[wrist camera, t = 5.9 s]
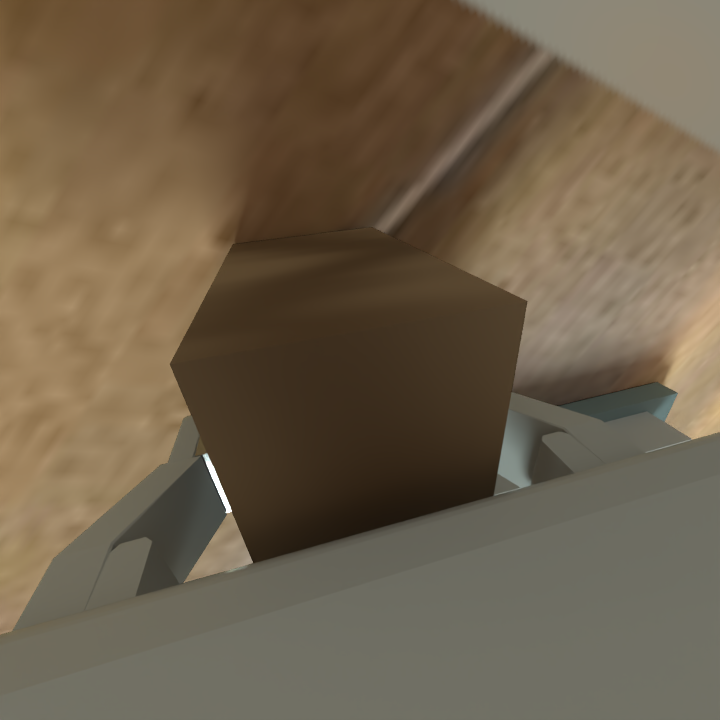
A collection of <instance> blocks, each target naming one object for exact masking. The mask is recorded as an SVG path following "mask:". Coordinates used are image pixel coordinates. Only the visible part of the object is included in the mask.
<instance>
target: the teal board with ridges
mask: <svg viewBox="0 0 720 720" xmlns="http://www.w3.org/2000/svg"><path fill="white" fill-rule="evenodd" d="M677 394H678V393H677V392H675V391H673V390H671V389H669V388H667V387H665V386H663V385H662V384H660V383H658V382H656V383H651V384H647V385H643V386H639V387H635V388H631V389H627V390H623V391H619V392H614V393H610V394H606V395H602V396H598V397H594V398H590V399H586V400H582V401H577V402H573V403H569V404H565V405H561V406H558V407H561V408H564V409H568V410H571V411H574V412H577V413H580V414H584V415H587V416H590V417H593V418H596V419H600V420H602V421H603V422H604V423H606V424H607V425H608V426H610V427H611V428H613V429H614V430H615V431H617V432H618V433H619V434H621V435H622V436H624V437H625V438H626V439H628V440H629V441H630V442H632V443H633V444H634V445H636V446H637V447H639V448H640V449H641V450H643V451H644V452H645V453H647V452H651V451H654V450H658V449H662V448H665V447H669V446H672V445H676V444H679V443H683V442H686V441H690V440H692V439H691V438H689V437H688V436H686V435H685V434H683V433H681V432H680V431H678V430H676V429H675V428H673V427H672V426H670V425H668V424H667V423H665V422H664V421H665V419H666V417H667V415H668V413H669V411H670V409H671V407H672V404H673V402H674V400H675V398H676V396H677ZM519 488H520V487H519V486H517V485H516V484H514V483H512V482H511V481H509V480H507V479H506V478H504V477H503V476H501V475H499V474H498V473H497V479H496V485H495V491H494V495H498V494H502V493H505V492H509V491H512V490H516V489H519Z"/></svg>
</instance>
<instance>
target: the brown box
mask: <svg viewBox="0 0 720 720" xmlns="http://www.w3.org/2000/svg"><path fill="white" fill-rule="evenodd" d="M526 307H527V301H526V300H524V299H522V298H520V297H517V296H515V295H513V294H511V293H509V292H507V291H505V290H503V289H501V288H499V287H496V286H494V285H492V284H490V283H488V282H486V281H484V280H482V279H480V278H478V277H475V276H473V275H471V274H469V273H467V272H465V271H463V270H461V269H459V268H457V267H454V266H452V265H450V264H448V263H446V262H444V261H442V260H440V259H438V258H436V257H433V256H431V255H429V254H427V253H425V252H423V251H421V250H419V249H417V248H415V247H412V246H410V245H408V244H406V243H404V242H402V241H400V240H398V239H396V238H394V237H391V236H389V235H387V234H385V233H383V232H381V231H379V230H377V229H375V228H373V227H368V228H360V229H352V230H344V231H336V232H328V233H320V234H312V235H304V236H296V237H288V238H280V239H272V240H264V241H256V242H247V243H239V244H233V245H232V247H231V249H230V251H229V253H228V255H227V257H226V258H225V260H224V262H223V264H222V266H221V268H220V270H219V272H218V274H217V276H216V277H215V279H214V281H213V283H212V285H211V287H210V289H209V291H208V293H207V295H206V296H205V298H204V300H203V302H202V304H201V306H200V308H199V310H198V312H197V314H196V315H195V317H194V319H193V321H192V323H191V325H190V327H189V329H188V331H187V333H186V334H185V336H184V338H183V340H182V342H181V344H180V346H179V348H178V350H177V352H176V354H175V355H174V357H173V359H172V361H171V363H170V366H171V368H172V370H173V373H174V375H175V378H176V380H177V382H178V385H179V387H180V390H181V392H182V394H183V397H184V399H185V401H186V404H187V406H188V409H189V411H190V413H191V416H192V418H193V420H194V423H195V425H196V428H197V430H198V432H199V435H200V437H201V439H202V442H203V444H204V447H205V449H206V451H207V454H208V456H209V459H210V461H211V463H212V466H213V468H214V470H215V473H216V475H217V478H218V480H219V482H220V485H221V487H222V489H223V492H224V494H225V497H226V499H227V501H228V504H229V506H230V509H231V511H232V513H233V516H234V518H235V520H236V523H237V525H238V528H239V530H240V532H241V535H242V537H243V539H244V542H245V544H246V547H247V549H248V551H249V554H250V556H251V559H252V561H253V563H256V562H260V561H263V560H267V559H271V558H274V557H278V556H281V555H285V554H288V553H292V552H295V551H299V550H303V549H306V548H310V547H313V546H317V545H320V544H324V543H327V542H331V541H334V540H338V539H342V538H345V537H349V536H352V535H356V534H359V533H363V532H366V531H370V530H374V529H377V528H381V527H384V526H388V525H391V524H395V523H398V522H402V521H405V520H409V519H413V518H416V517H420V516H423V515H427V514H430V513H434V512H437V511H441V510H445V509H448V508H452V507H455V506H459V505H462V504H466V503H470V502H473V501H477V500H480V499H484V498H487V497H491V496H494V491H495V485H496V479H497V473H498V468H499V462H500V456H501V450H502V445H503V439H504V433H505V427H506V422H507V416H508V410H509V404H510V399H511V393H512V387H513V381H514V376H515V370H516V364H517V358H518V353H519V347H520V341H521V335H522V330H523V324H524V318H525V312H526Z"/></svg>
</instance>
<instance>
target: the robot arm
mask: <svg viewBox="0 0 720 720" xmlns="http://www.w3.org/2000/svg"><path fill="white" fill-rule="evenodd" d="M498 474H499V475H501V476H503V477H504V478H506V479H507V480H509V481H511V482H512V483H514V484H516V485H517V486H519V487H520V488H519V489H516V490H512V491H509V492H505V493H502V494H498V495H494V496H491V497H487V498H484V499H480V500H477V501H473V502H470V503H466V504H462V505H459V506H455V507H452V508H448V509H445V510H441V511H437V512H434V513H430V514H427V515H423V516H420V517H416V518H413V519H409V520H405V521H402V522H398V523H395V524H391V525H388V526H384V527H381V528H377V529H374V530H370V531H366V532H363V533H359V534H356V535H352V536H349V537H345V538H342V539H338V540H334V541H331V542H327V543H324V544H320V545H317V546H313V547H310V548H306V549H303V550H299V551H295V552H292V553H288V554H285V555H281V556H278V557H274V558H271V559H267V560H263V561H260V562H256V563H253V564H249V565H246V566H242V567H239V568H235V569H231V570H228V571H224V572H221V573H217V574H214V575H210V576H207V577H203V578H200V579H196V580H192V581H189V582H185V583H183V582H184V581H185V579H186V578H187V576H188V575H189V573H190V571H191V570H192V568H193V567H194V565H195V564H196V562H197V560H198V559H199V557H200V556H201V554H202V553H203V551H204V550H205V548H206V546H207V545H208V543H209V542H210V540H211V539H212V537H213V535H214V534H215V532H216V531H217V529H218V528H219V526H220V525H221V523H222V521H223V520H224V518H225V517H226V515H227V514H226V513H227V512H230V511H231V509H230V506H229V504H228V501H227V499H226V497H225V494H224V492H223V489H222V487H221V485H220V482H219V480H218V478H217V475H216V473H215V470H214V468H213V466H212V463H211V461H210V459H209V456H208V454H207V451H206V449H205V447H204V444H203V442H202V439H201V437H200V435H199V432H198V430H197V428H196V425H195V423H194V420H193V418H192V416H191V415H190V416H187V417H185V418H184V419H183V421H182V424H181V427H180V430H179V433H178V435H177V438H176V441H175V444H174V447H173V449H172V452H171V455H170V458H169V461H168V463H166V464H161V465H160V466H159V467H157V468H156V469H155V470H154V471H153V472H152V473H151V474H149V475H148V476H147V477H146V478H145V479H144V480H143V481H141V482H140V483H139V484H138V485H137V486H136V487H135V488H133V489H132V490H131V491H130V492H129V493H128V494H127V495H125V496H124V497H123V498H122V499H121V500H120V501H119V502H117V503H116V504H115V505H114V506H113V507H112V508H111V509H109V510H108V511H107V512H106V513H105V514H104V515H103V516H101V517H100V518H99V519H98V520H97V521H96V522H95V523H93V524H92V525H91V526H90V527H89V528H88V529H87V530H85V531H84V532H83V533H82V534H81V535H80V536H79V537H77V538H76V539H75V540H74V541H73V542H72V543H71V544H69V545H68V546H67V547H66V548H65V549H64V550H63V551H61V552H60V553H59V554H58V555H57V556H56V557H55V558H53V560H52V562H51V564H50V565H49V567H48V569H47V571H46V573H45V574H44V576H43V578H42V580H41V581H40V583H39V585H38V587H37V588H36V590H35V592H34V594H33V595H32V597H31V599H30V601H29V603H28V604H27V606H26V608H25V610H24V611H23V613H22V615H21V617H20V618H19V620H18V622H17V624H16V625H15V627H14V629H13V631H11V632H8V633H4V634H1V635H0V720H720V432H718V433H715V434H711V435H708V436H704V437H701V438H697V439H694V440H690V441H686V442H683V443H679V444H676V445H672V446H669V447H665V448H662V449H658V450H654V451H651V452H647V453H645V452H644V451H643V450H641V449H640V448H639V447H637V446H636V445H634V444H633V443H632V442H630V441H629V440H628V439H626V438H625V437H624V436H622V435H621V434H619V433H618V432H617V431H615V430H614V429H613V428H611V427H610V426H608V425H607V424H606V423H604V422H603V421H602V420H600V419H596V418H593V417H590V416H587V415H584V414H580V413H577V412H574V411H571V410H568V409H564V408H561V407H558V406H555V405H552V404H548V403H545V402H542V401H539V400H536V399H532V398H529V397H526V396H523V395H520V394H516V393H513V392H512V393H511V399H510V404H509V410H508V416H507V422H506V427H505V433H504V439H503V445H502V450H501V456H500V462H499V468H498Z"/></svg>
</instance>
